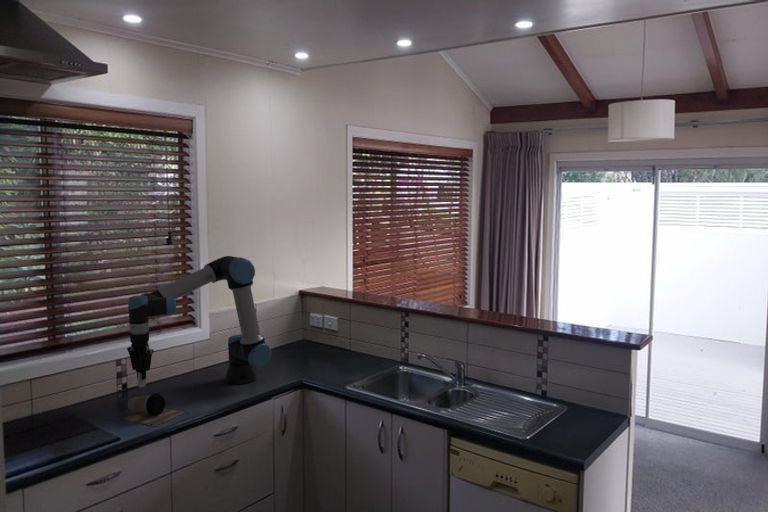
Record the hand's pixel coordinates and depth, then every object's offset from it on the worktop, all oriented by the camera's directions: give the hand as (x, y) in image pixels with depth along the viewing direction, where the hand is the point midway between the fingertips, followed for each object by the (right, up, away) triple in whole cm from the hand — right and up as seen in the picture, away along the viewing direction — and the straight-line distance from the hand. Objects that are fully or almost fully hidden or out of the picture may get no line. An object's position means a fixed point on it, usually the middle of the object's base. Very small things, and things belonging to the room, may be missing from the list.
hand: (142, 386), depth 267 cm
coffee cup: (-5, -8, +3) cm, 10 cm away
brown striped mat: (+5, -13, -1) cm, 14 cm away
